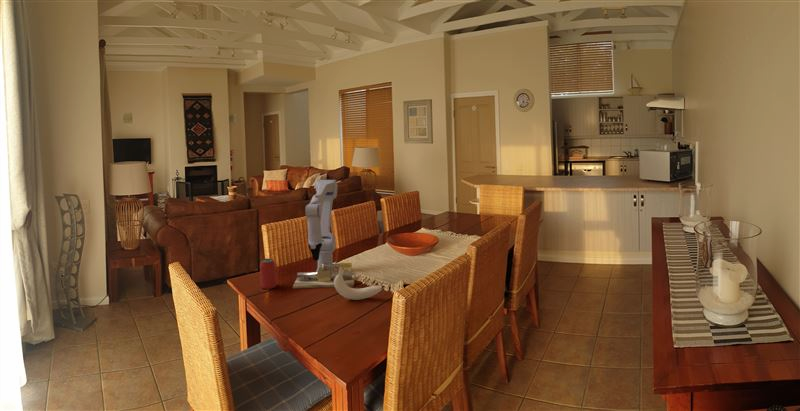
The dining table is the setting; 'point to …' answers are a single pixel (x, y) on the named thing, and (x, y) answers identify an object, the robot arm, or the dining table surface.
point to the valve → (323, 274)
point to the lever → (338, 265)
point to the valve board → (321, 283)
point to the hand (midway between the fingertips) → (316, 260)
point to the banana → (351, 292)
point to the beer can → (268, 273)
